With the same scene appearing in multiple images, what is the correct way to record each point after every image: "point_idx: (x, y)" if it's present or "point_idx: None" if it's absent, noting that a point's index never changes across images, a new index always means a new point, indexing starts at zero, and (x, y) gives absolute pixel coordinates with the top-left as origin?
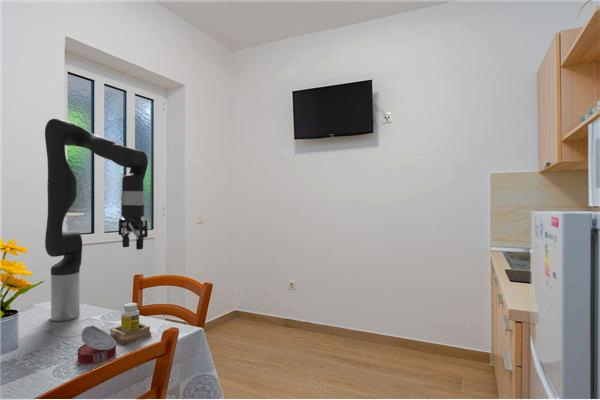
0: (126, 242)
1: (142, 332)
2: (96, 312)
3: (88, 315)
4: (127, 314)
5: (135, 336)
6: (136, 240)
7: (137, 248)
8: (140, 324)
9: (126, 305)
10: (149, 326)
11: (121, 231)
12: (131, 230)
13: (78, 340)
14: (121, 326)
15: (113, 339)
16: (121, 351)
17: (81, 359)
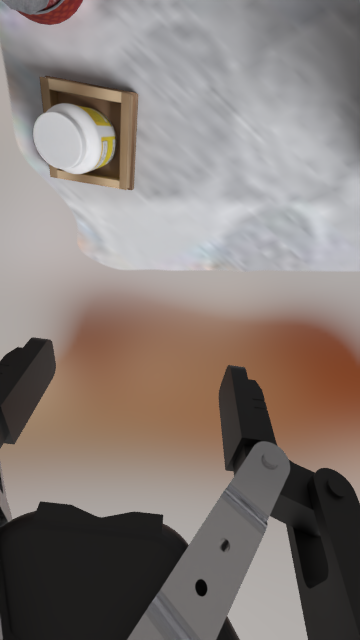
0: (228, 409)
1: None
2: (349, 242)
3: (356, 213)
4: (49, 109)
5: None
6: (4, 395)
7: (30, 340)
8: (87, 176)
9: (55, 119)
10: (50, 175)
11: (317, 520)
12: (55, 527)
13: (214, 24)
14: (93, 110)
15: (19, 6)
16: (14, 30)
17: None
